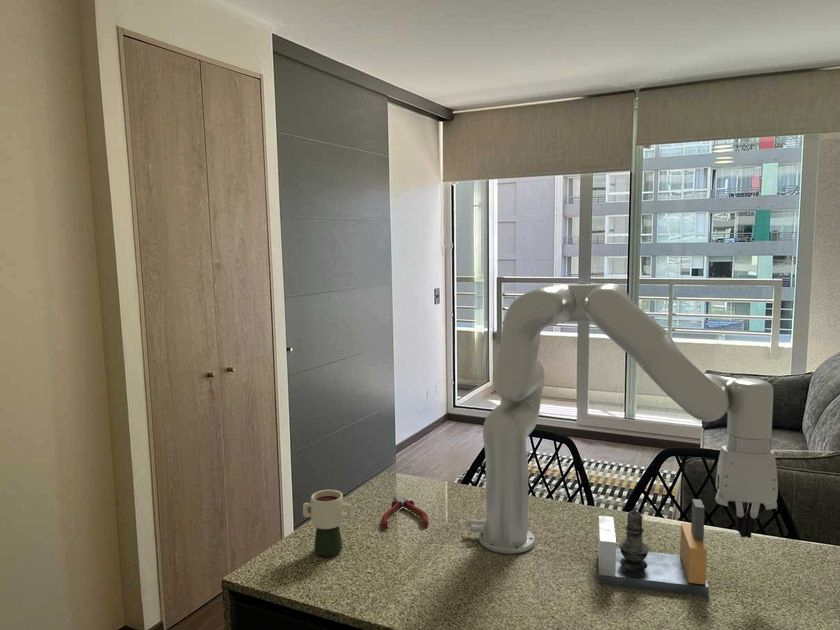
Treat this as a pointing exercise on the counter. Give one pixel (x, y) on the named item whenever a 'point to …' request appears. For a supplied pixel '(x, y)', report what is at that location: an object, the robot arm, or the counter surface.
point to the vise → (658, 575)
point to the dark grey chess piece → (634, 543)
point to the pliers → (407, 504)
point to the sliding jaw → (694, 545)
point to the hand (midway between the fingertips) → (744, 534)
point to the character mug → (327, 520)
